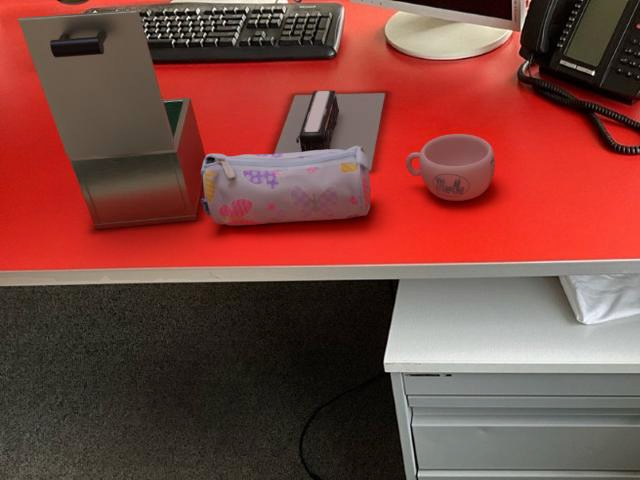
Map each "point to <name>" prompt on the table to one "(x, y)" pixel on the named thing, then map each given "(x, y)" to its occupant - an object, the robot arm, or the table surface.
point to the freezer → (147, 178)
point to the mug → (455, 166)
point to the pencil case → (286, 186)
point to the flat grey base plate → (332, 123)
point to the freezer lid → (99, 82)
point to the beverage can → (72, 2)
